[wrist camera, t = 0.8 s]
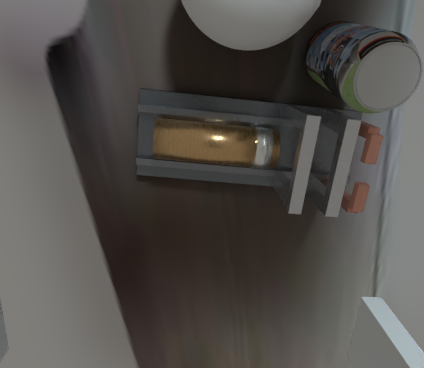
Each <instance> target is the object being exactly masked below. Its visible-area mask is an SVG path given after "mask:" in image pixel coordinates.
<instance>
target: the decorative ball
mask: <svg viewBox="0 0 424 368" xmlns="http://www.w3.org/2000/svg"><path fill="white" fill-rule="evenodd" d="M181 1H182V4H183V6H184V8H185V10H186V12H187V13H188V15H189V17H190V18H191V20H192V21H193V22H194V24H195V25H196V26H197V27H198V28H199V29H200V30H201V31H202V32H203V33H204V34H205V35H206V36H208V37H209V38H210V39H212V40H213V41H215V42H217V43H219V44H221V45H223V46H226V47H229V48H232V49H237V50H260V49H265V48H268V47H272V46H274V45H277V44H279V43H281V42H283V41H285V40H286V39H288V38H289V37H291V36H292V35H294V34H295V33H296V32H297V31H298V30H299V29H301V28H302V27H303V26H304V25H305V23H306V22H307V21H308V20H309V19H310V18H311V17H312V16H313V14H314V13H315V11H316V10H317V9H318V7H319V6H320V3H321V0H181Z"/></svg>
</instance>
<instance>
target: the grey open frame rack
mask: <svg viewBox="0 0 424 368" xmlns="http://www.w3.org/2000/svg"><path fill="white" fill-rule="evenodd" d="M286 104H288V103H278V102H269V101H259V100H249V99H240V98H230V97H221V96H211V95H201V94H192V93H182V92H173V91H163V90H154V89H144V88H141V89H140V96H139V104H138V112H139V123H138V150H137V157H136V165H137V175H144V176H156V177H167V178H179V179H191V180H203V181H214V182H226V183H238V184H249V185H261V186H272V185H273V179H274V177H276V176H282V177H287V178H288V179H289V180H291V175H292V169H293V164H294V159H295V154H296V148H297V143H298V138H299V132H300V130H299V129H298V128H296V127H295V126H293V125H292V124H290V123H289V122H288V121H286V119H285V118H284V116H285V110H286ZM288 105H297V104H288ZM298 106H300V107H302V108H304V109H306V110H308V111H311V112H313V113H315V114H317V115H318V113H319V108H326V107H316V106H307V105H298ZM327 109H332V110H335V111H337V112H340V113H343V114H345V115H348V116H351V117H353V118H356V119H358V120H361V116H362V112H359V111H355V110H345V109H336V108H327ZM156 118H165V119H175V120H186V121H196V122H206V123H216V124H226V125H236V126H246V127H262V128H271V129H277V130H279V132H280V139H281V144H280V154H279V159H278V162H277V165H276V167H275V169H259V168H251V167H243V166H232V165H220V164H209V163H198V162H187V161H176V160H165V159H154V158H153V137H154V127H155V121H156ZM337 138H338V133H336V132H334V131H332V130H330V129H328V128H326V127H325V126H323V125H321V124H320V125H319V130H318V135H317V140H316V144H315V149H314V154H313V159H312V164H311V169H310V173H309V178H308V179H316V180H319V181H320V182H321V183H322V184H323V181H327V180H328V177H329V173H330V169H331V164H332V160H333V155H334V151H335V147H336V142H337ZM349 179H350V177H349V176H348V178H347V182H346V183H349Z"/></svg>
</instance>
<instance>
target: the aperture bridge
mask: <svg viewBox="0 0 424 368" xmlns="http://www.w3.org/2000/svg"><path fill="white" fill-rule="evenodd" d="M379 131H380V128H378V127H376V126H373V125H371V124H368V123H365V122H363V121H361V125H360V129H359V133H358V135H360V136H362V137H364V138H366V141H365V145H364V149H363V153H362V157H361V161H362V162H363V163H367V164H376V161H377V158H378V154H379V150H380V147H381V143H382V139H383V136H382V135H380V134H379ZM327 182H328V180H327V181H323V185H324V186H325V187H326V186H327ZM369 187H370V186H369V185H368V184H367V183H361V182H355V185H354V189H353V192H352V195H350V194H349V193H348V192H347V191H346V190H344V194H343V198H342V202H341V206H342V207H343V208H344V209H345V210H346V211H347V212H350V213H358V211H360V212H363V210H364V206H365V202H366V199H367V195H368V191H369Z"/></svg>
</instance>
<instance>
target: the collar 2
mask: <svg viewBox="0 0 424 368" xmlns="http://www.w3.org/2000/svg"><path fill="white" fill-rule="evenodd" d="M318 115H319V116H321V120H320V124H321V125H323V126H325V127H326V128H328V129H330V130H332V131H334V132H336V133H338V138H337V142H336V147H335V151H334V155H333V160H332V164H331V169H330V173H329V177H328V182H327V186H326V187H325V186H324V185H323V184H322V183H321V182H320V181H319V180H316V179H308V183H307V188H306V193H307V195H308V196H309V197H310V198H311V200H312V201H313V202H314V203H315V204H316V206H317V207H318V208H319V209H320V211H321V212H322V213H323V214H324V215H325V216H327V217H338V214H339V210H340V206H341V202H342V198H343V194H344V190H345V186H346V182H347V178H348V173H349V169H350V165H351V161H352V157H353V153H354V149H355V145H356V141H357V137H358V133H359V129H360V125H361V120H358V119H356V118H353V117H351V116H348V115H345V114H343V113H340V112H337V111H335V110H332V109H327V108H319V113H318Z"/></svg>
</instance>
